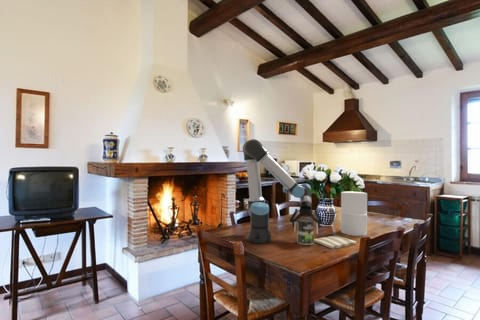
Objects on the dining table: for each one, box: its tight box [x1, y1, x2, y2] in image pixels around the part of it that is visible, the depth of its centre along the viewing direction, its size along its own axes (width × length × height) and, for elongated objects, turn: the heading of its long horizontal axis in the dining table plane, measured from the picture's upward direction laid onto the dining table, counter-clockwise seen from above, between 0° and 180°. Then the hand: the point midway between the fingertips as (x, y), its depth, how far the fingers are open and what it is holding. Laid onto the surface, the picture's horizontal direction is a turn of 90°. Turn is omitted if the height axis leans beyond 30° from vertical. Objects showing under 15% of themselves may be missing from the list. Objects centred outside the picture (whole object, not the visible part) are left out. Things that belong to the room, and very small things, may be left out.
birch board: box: [313, 235, 357, 250], centre depth 182 cm, size 20×16×2 cm
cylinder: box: [340, 190, 368, 237], centre depth 207 cm, size 17×17×28 cm
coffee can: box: [296, 217, 315, 246], centre depth 182 cm, size 10×10×14 cm
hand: (306, 232), depth 181 cm, fingers open, 13 cm apart
